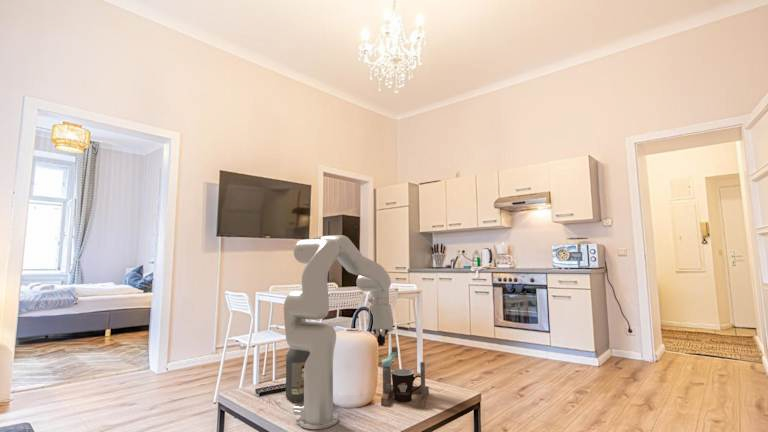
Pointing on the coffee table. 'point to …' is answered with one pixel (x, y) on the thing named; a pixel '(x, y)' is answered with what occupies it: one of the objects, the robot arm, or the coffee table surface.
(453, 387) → the coffee table surface
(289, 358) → the liquor
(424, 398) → the dock
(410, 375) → the coffee mug
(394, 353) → the clip
